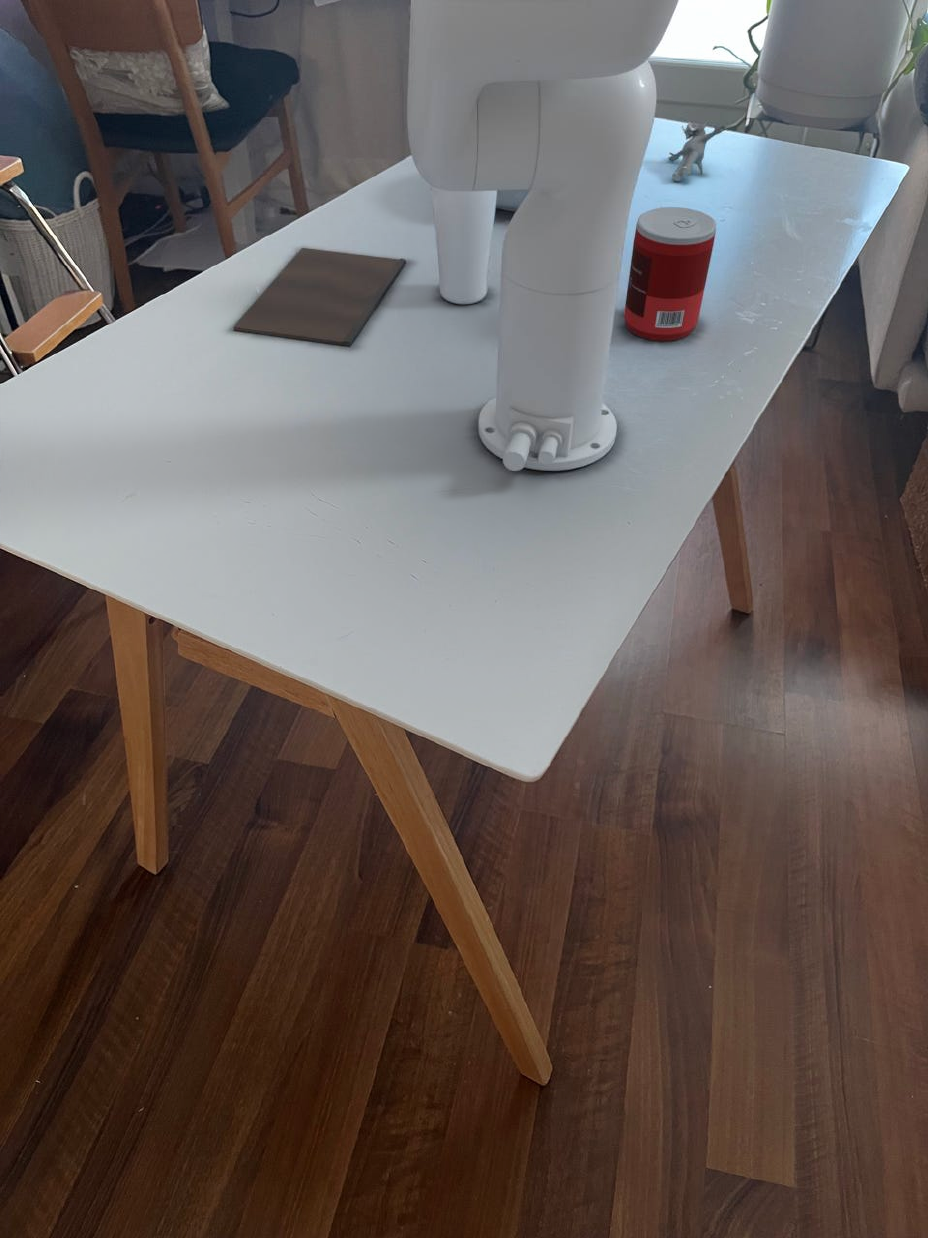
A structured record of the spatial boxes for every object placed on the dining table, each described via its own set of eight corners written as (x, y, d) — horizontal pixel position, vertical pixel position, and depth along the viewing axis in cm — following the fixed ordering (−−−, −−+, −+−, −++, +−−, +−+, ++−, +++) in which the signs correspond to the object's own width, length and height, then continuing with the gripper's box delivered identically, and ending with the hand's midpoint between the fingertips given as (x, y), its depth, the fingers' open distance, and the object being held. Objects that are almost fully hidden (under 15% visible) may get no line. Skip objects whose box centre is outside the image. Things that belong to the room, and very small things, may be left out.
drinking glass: (487, 312, 102) (491, 168, 91) (427, 306, 103) (424, 162, 92) (498, 284, 106) (503, 144, 96) (440, 278, 107) (439, 139, 97)
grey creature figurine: (640, 176, 130) (662, 132, 133) (667, 207, 133) (687, 164, 136) (696, 141, 122) (718, 96, 125) (723, 176, 125) (743, 130, 128)
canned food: (711, 324, 100) (732, 221, 92) (665, 350, 96) (684, 245, 88) (653, 300, 104) (670, 199, 96) (608, 324, 100) (621, 221, 92)
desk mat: (350, 346, 96) (350, 342, 96) (233, 330, 99) (232, 325, 98) (406, 263, 110) (406, 259, 110) (302, 250, 112) (302, 246, 112)
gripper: (400, -242, 75) (408, 8, 87) (615, -237, 71) (592, 22, 84) (428, -246, 80) (431, -9, 92) (629, -242, 77) (605, 3, 89)
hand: (508, 5), depth 88 cm, fingers open, 9 cm apart
